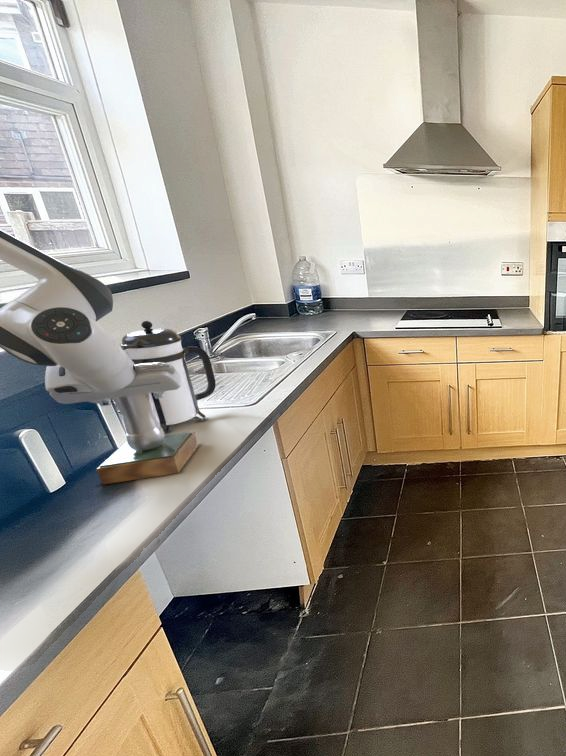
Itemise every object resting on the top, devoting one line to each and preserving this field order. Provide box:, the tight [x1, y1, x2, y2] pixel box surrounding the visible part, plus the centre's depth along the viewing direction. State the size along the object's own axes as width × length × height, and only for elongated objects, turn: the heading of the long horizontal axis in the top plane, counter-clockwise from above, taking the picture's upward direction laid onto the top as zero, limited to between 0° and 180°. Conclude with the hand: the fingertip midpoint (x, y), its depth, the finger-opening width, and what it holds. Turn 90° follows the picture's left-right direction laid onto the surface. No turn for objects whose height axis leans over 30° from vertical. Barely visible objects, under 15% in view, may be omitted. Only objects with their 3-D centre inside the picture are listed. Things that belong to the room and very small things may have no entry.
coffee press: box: [119, 320, 217, 434], centre depth 117 cm, size 17×16×30 cm
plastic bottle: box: [112, 393, 166, 451], centre depth 94 cm, size 6×7×20 cm
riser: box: [95, 431, 199, 485], centre depth 98 cm, size 14×14×4 cm
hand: (134, 399), depth 94 cm, fingers open, 8 cm apart
